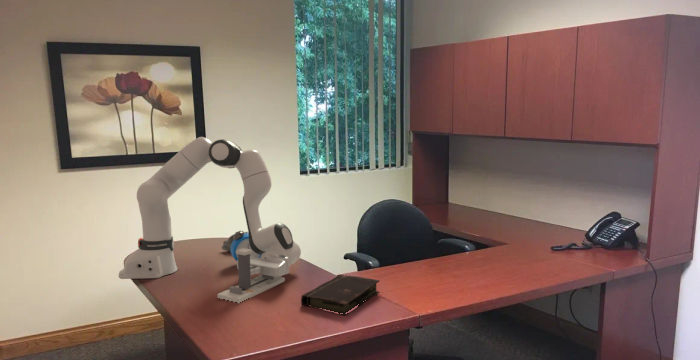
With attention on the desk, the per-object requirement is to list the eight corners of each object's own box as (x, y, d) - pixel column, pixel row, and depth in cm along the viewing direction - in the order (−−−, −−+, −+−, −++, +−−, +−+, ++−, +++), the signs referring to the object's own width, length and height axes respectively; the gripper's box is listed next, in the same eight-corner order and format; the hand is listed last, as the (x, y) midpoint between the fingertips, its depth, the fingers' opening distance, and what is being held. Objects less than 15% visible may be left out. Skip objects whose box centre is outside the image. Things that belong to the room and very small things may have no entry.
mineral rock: (220, 252, 234) (219, 231, 233) (234, 246, 244) (233, 226, 243) (243, 255, 229) (242, 234, 228) (256, 249, 239) (256, 229, 237)
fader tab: (243, 285, 183) (242, 248, 182) (252, 287, 181) (251, 249, 179) (237, 288, 180) (235, 250, 178) (246, 290, 178) (245, 252, 176)
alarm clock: (234, 268, 210) (232, 233, 208) (230, 264, 215) (229, 230, 213) (264, 264, 215) (263, 230, 213) (260, 260, 221) (259, 227, 219)
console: (264, 277, 198) (264, 268, 198) (284, 281, 193) (284, 272, 193) (217, 298, 176) (217, 288, 176) (238, 303, 171) (238, 293, 171)
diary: (300, 307, 169) (300, 293, 168) (338, 285, 191) (338, 273, 190) (347, 318, 160) (347, 303, 159) (381, 293, 181) (381, 280, 181)
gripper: (250, 250, 198) (225, 260, 186) (291, 257, 188) (268, 268, 176) (250, 265, 199) (226, 276, 187) (292, 273, 189) (269, 285, 177)
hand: (247, 272), depth 181 cm, fingers closed, pressing on fader tab
